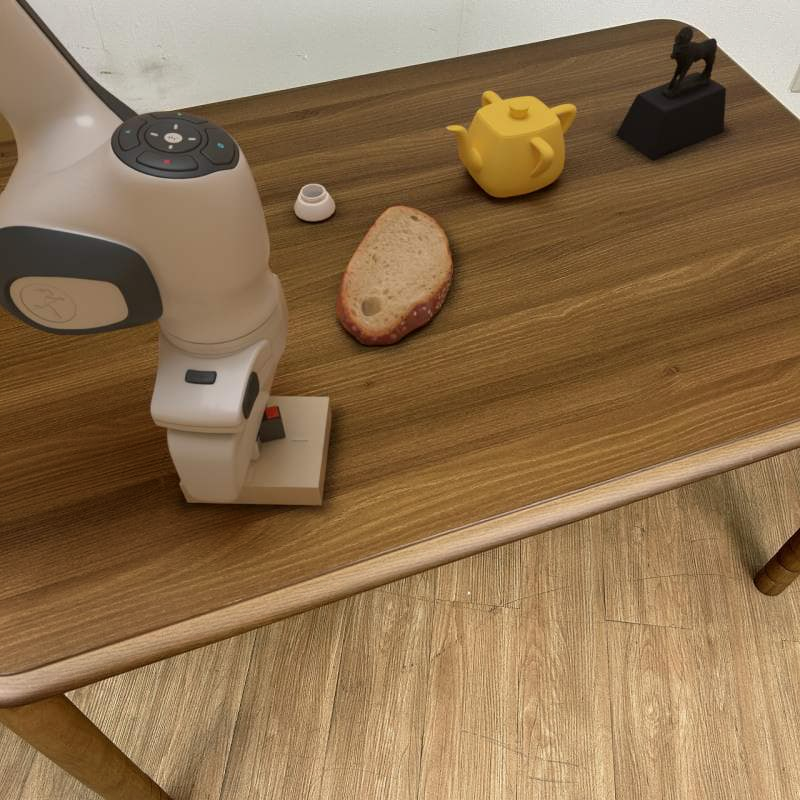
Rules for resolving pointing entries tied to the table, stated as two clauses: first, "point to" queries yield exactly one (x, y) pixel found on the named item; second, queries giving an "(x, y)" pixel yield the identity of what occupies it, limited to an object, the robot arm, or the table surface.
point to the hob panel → (289, 457)
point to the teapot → (514, 144)
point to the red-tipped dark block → (271, 425)
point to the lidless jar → (314, 203)
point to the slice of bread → (395, 277)
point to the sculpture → (678, 104)
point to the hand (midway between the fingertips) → (255, 437)
